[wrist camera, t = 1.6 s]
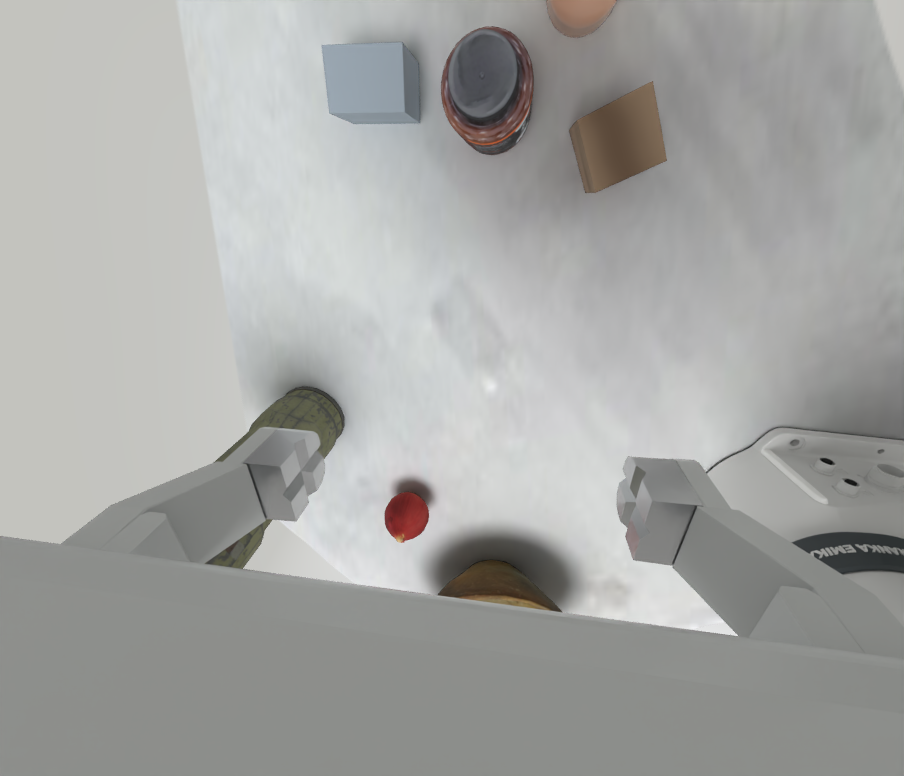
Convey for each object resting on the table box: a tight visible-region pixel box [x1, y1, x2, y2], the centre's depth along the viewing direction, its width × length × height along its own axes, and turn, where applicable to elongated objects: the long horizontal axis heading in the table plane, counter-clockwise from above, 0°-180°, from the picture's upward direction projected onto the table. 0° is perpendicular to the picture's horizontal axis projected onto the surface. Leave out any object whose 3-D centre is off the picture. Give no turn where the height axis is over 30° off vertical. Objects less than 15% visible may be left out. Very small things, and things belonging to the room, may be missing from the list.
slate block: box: [322, 42, 420, 124], centre depth 29 cm, size 6×4×5 cm, turn 90°
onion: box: [385, 492, 429, 543], centre depth 49 cm, size 6×6×8 cm
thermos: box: [205, 387, 344, 569], centre depth 34 cm, size 9×12×35 cm
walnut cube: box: [569, 81, 667, 193], centre depth 29 cm, size 5×5×5 cm
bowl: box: [438, 560, 562, 612], centre depth 54 cm, size 22×23×10 cm
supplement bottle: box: [441, 26, 533, 155], centre depth 26 cm, size 6×6×11 cm
